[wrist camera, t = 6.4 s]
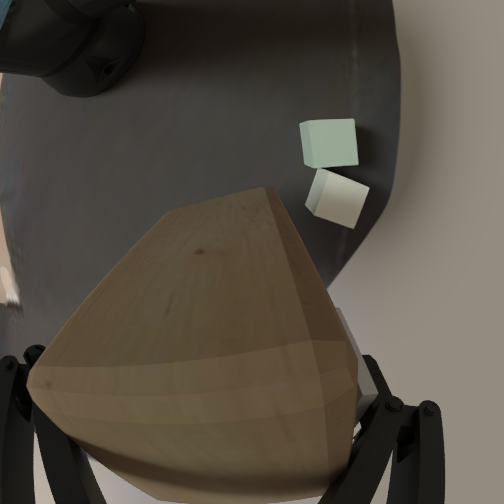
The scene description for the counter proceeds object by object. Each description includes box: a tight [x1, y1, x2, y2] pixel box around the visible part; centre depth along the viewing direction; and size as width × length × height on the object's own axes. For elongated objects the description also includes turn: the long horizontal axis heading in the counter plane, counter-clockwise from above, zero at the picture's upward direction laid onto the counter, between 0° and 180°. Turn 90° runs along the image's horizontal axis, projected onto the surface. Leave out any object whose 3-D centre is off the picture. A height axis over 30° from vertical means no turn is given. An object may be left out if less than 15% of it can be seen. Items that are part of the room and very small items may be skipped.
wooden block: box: [26, 186, 358, 504], centre depth 16 cm, size 10×10×20 cm
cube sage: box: [300, 119, 358, 168], centre depth 28 cm, size 5×5×5 cm
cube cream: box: [305, 168, 369, 229], centre depth 31 cm, size 5×5×5 cm
